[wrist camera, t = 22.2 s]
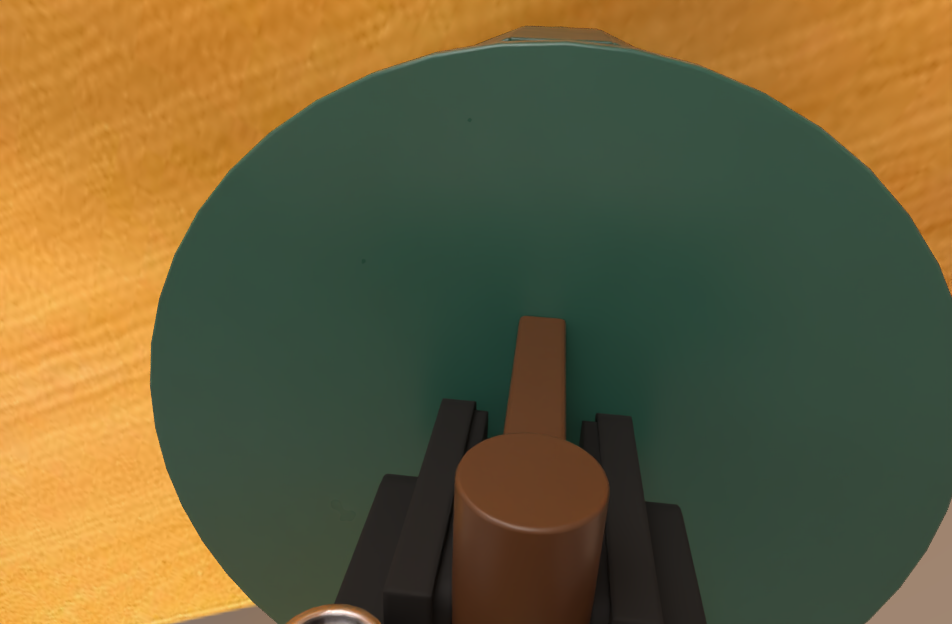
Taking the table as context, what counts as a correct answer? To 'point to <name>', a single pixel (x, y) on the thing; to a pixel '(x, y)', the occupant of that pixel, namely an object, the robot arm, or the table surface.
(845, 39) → the table surface
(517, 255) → the lid
